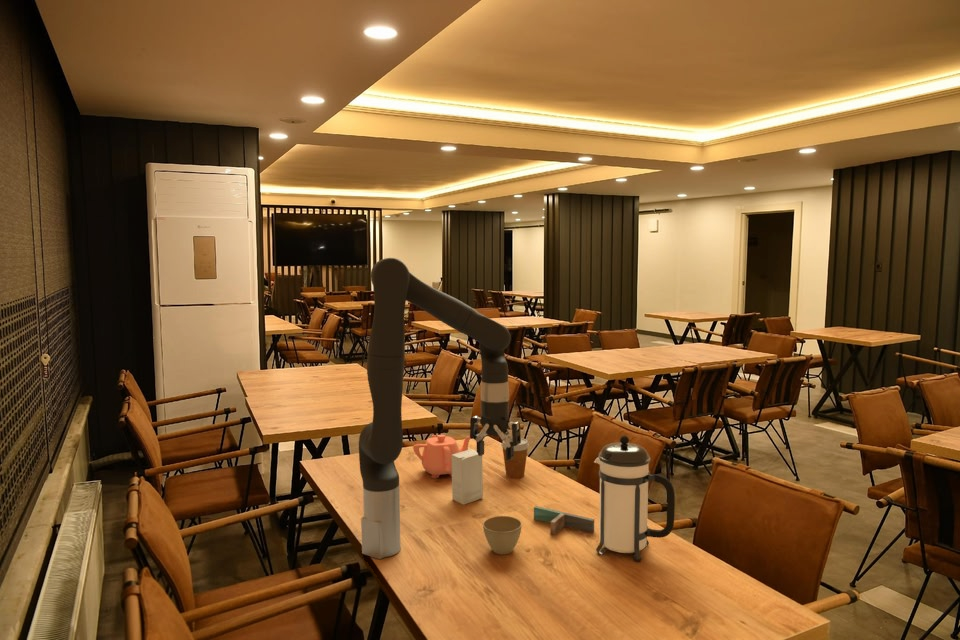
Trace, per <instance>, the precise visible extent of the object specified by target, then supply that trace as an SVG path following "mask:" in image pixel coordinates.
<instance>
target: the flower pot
mask: <svg viewBox="0 0 960 640" xmlns="http://www.w3.org/2000/svg"><path fill="white" fill-rule="evenodd" d="M522 525H523V523H522V521H521V520H520V519H518V518H516V517H514V516H511V515H496V516H492V517H488V518H487V519H485V520H484V521H483V522H482V529H483V533H484V536H485V539H486V542H487V544H488V546H489V547H490V549H491V550H492V551H493V553H495V554H498V555H509V554H511V553H513V550H514V549H515V548H516V546H517V544H518V542H519V538H520V536H521V533H522V527H523V526H522Z"/></svg>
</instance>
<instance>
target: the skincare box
mask: <svg viewBox="0 0 960 640" xmlns="http://www.w3.org/2000/svg"><path fill="white" fill-rule="evenodd" d="M451 458H452V476H451V489H452V490H451V493H452V495H451V496H452V497H451V498H452V500H453V501H455V502H457V503H459V504H461V505H467V504H470V503H472V502H475V501H478V500H481V499H483V498H484V488H483V487H484V480H483V479H484V477H483V475H484V474H483V473H484V472H483V455H482V456H479V455H478V453H477V450H475V449H472V448H468V450H466V451H463V452H460V453H456V454H453V455H451Z"/></svg>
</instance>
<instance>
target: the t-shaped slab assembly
mask: <svg viewBox="0 0 960 640" xmlns="http://www.w3.org/2000/svg"><path fill="white" fill-rule="evenodd" d="M533 520H537V521H540V522H544V523H549V524H550V527H549V528H550V532H549V533H550V535H553V536H555V535H556V534H557V533H559V531H561V530H562V529H564V527H566V528H570V529H574V530H578V531H583V532H586V533H591V534H593V533H594V532H595V518H589V517H586V516H582V515H577V514H573V513H568V512H564V511H559V510H555V509H551V508H547V507H542V506H537V505H535V506H534V507H533Z"/></svg>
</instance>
